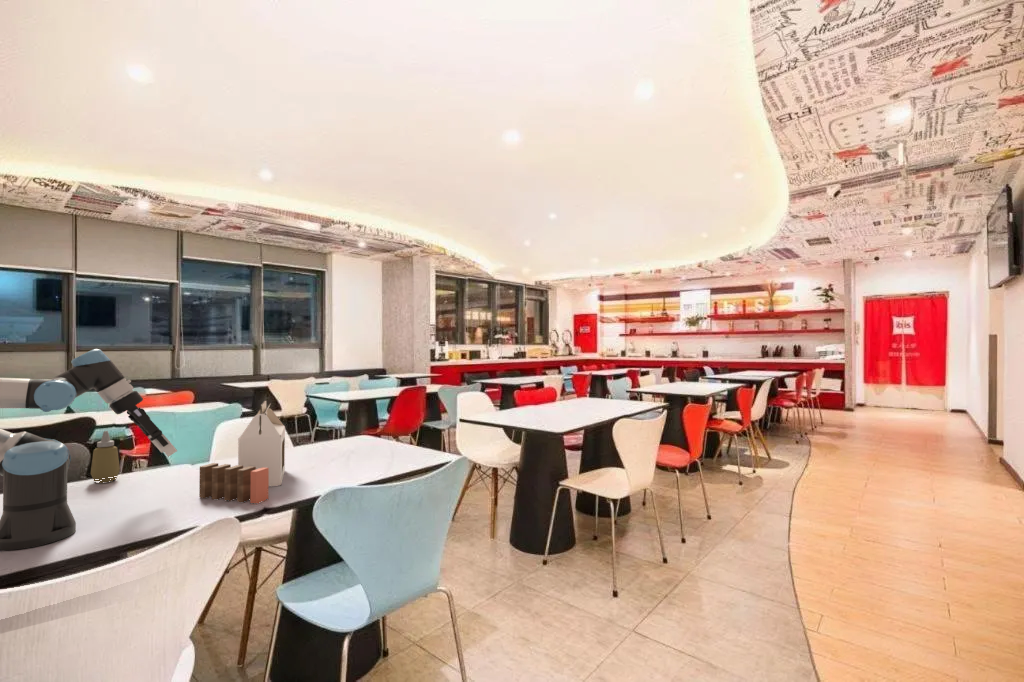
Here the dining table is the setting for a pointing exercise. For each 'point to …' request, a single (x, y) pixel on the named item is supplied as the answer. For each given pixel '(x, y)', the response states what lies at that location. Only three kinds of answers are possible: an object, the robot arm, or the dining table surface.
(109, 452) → the squeeze bottle
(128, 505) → the dining table surface
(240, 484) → the domino
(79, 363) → the robot arm
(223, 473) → the domino
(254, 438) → the gable box
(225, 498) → the domino
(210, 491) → the domino
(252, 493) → the domino
